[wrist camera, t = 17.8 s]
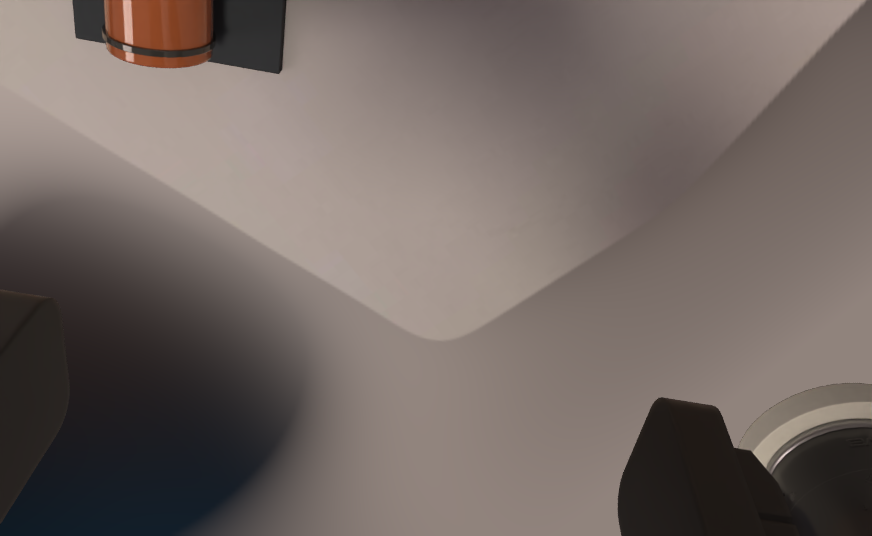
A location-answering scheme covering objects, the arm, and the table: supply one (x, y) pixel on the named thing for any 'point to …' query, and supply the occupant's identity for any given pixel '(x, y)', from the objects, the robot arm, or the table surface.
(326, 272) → the table surface
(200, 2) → the banded orange roll
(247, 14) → the rubber mat
